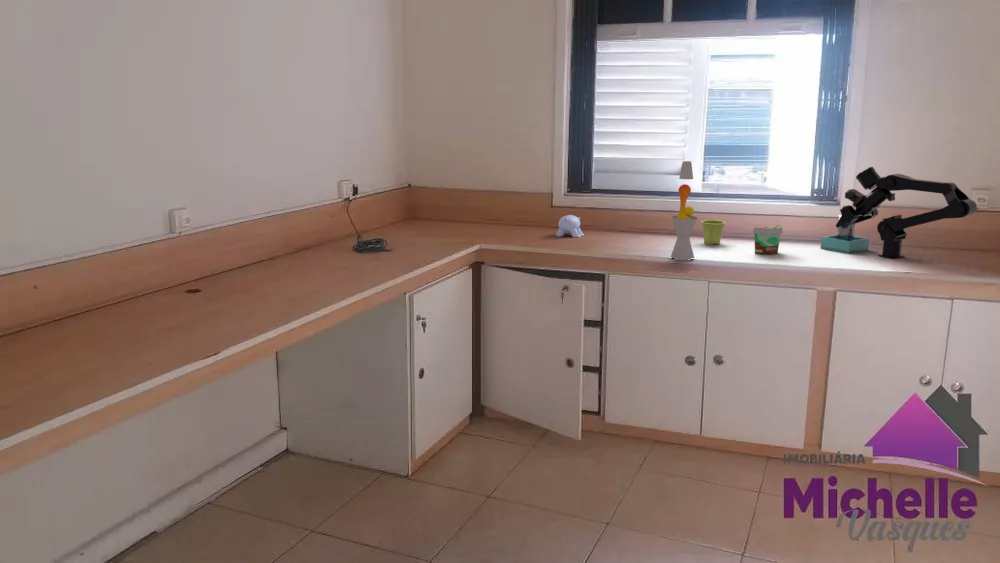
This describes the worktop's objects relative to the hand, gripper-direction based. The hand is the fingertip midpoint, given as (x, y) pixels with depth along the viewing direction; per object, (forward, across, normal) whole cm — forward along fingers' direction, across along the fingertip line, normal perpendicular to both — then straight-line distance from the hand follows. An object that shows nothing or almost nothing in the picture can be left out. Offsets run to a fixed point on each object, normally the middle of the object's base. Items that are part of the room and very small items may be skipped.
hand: (842, 225), depth 307 cm
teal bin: (+5, 0, +7) cm, 9 cm away
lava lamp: (+26, +60, -13) cm, 67 cm away
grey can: (+5, 0, +7) cm, 8 cm away
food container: (+15, +29, -2) cm, 32 cm away
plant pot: (+34, +28, -21) cm, 49 cm away
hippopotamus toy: (+69, +58, -56) cm, 106 cm away
